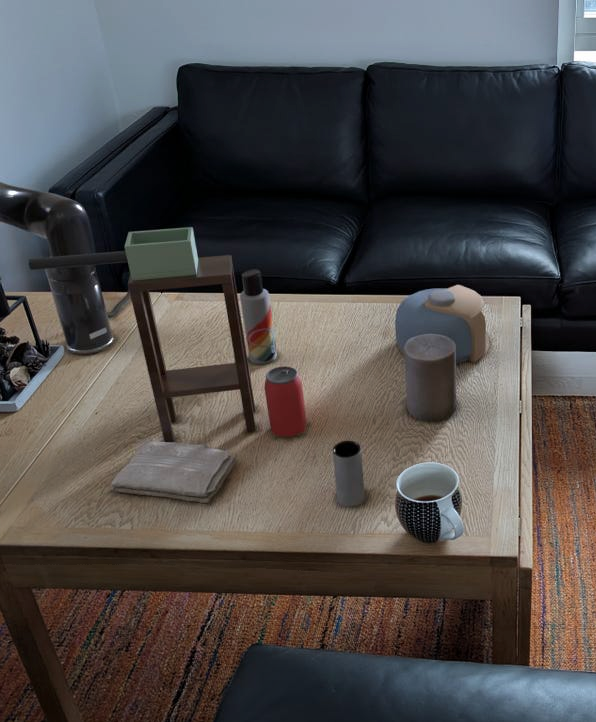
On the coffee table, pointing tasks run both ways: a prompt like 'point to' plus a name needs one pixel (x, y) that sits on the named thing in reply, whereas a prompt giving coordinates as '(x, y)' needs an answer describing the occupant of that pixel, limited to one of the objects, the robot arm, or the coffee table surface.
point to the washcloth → (175, 471)
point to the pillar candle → (430, 376)
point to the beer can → (285, 402)
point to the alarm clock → (445, 319)
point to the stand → (194, 378)
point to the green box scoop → (140, 255)
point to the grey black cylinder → (348, 473)
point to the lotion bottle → (257, 318)
